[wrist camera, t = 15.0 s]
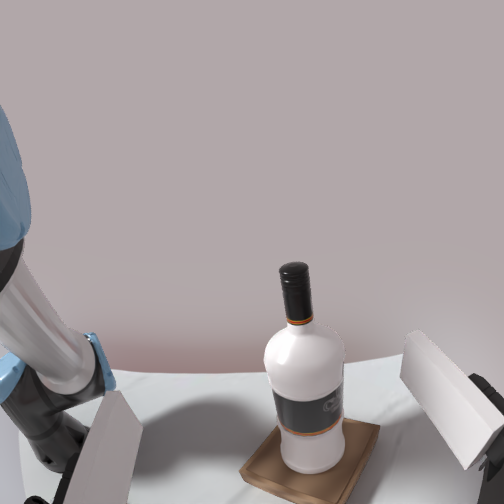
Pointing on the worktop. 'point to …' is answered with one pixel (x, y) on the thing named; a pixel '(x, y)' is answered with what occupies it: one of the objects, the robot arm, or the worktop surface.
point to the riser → (312, 485)
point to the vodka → (306, 380)
